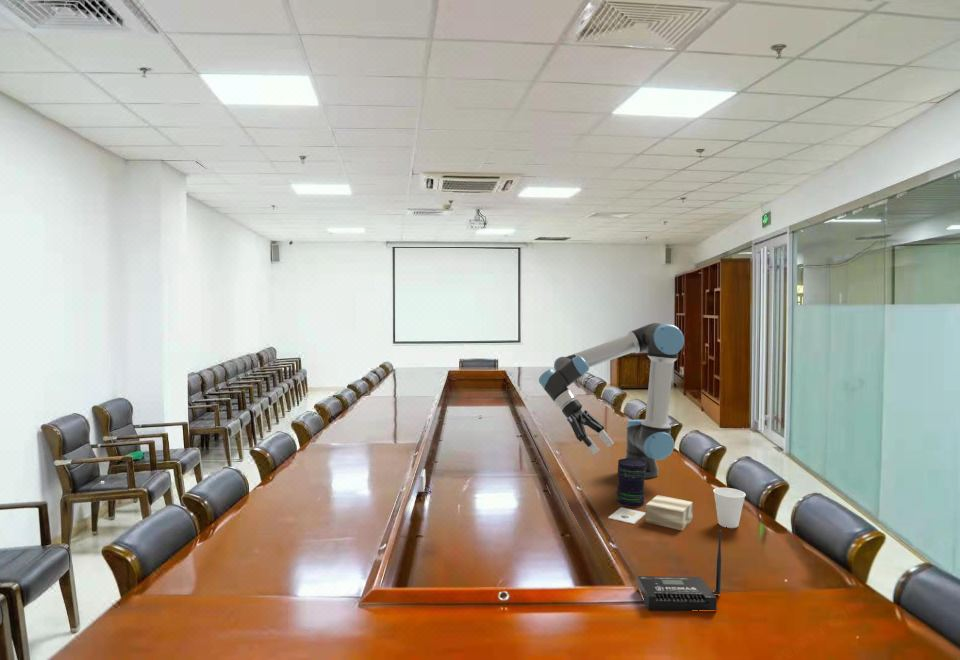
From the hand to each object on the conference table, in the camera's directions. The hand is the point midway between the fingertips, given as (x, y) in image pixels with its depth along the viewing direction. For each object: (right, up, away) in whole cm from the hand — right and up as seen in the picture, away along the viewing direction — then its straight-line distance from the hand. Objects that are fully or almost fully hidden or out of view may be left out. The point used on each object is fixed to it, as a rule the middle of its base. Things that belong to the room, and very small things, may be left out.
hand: (604, 448), depth 220 cm
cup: (+35, -20, -26) cm, 48 cm away
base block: (+17, -19, -23) cm, 34 cm away
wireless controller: (+3, -22, -76) cm, 79 cm away
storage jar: (+9, -19, -5) cm, 21 cm away
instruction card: (+4, -19, -19) cm, 27 cm away
